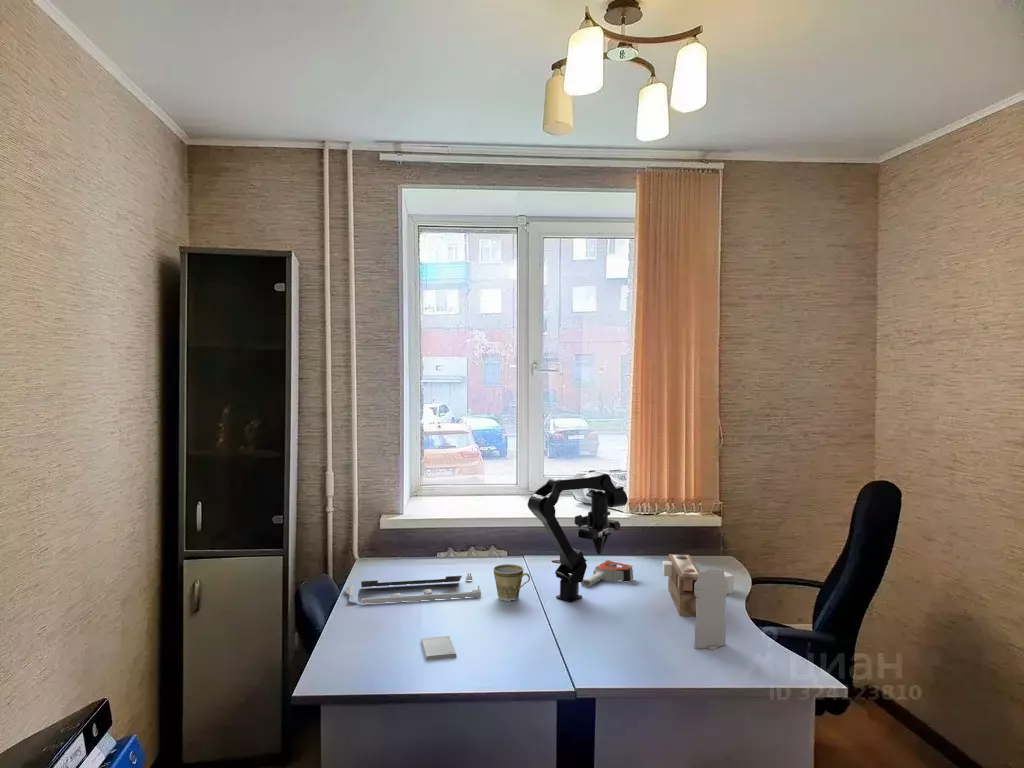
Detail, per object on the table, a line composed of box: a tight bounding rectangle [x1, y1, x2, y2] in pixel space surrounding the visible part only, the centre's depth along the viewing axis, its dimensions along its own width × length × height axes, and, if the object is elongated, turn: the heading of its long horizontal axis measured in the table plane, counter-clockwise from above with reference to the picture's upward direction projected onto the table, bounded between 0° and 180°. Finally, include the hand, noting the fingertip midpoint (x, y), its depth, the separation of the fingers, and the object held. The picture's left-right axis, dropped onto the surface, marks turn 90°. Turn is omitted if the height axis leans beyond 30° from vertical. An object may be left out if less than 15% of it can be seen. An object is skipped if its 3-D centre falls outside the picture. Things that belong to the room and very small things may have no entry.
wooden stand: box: [667, 553, 700, 617], centre depth 226 cm, size 7×24×13 cm, turn 176°
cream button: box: [662, 560, 672, 577], centre depth 233 cm, size 4×4×4 cm
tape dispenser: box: [580, 559, 634, 588], centre depth 249 cm, size 18×5×20 cm
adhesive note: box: [724, 571, 735, 594], centre depth 237 cm, size 6×6×6 cm
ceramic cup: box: [493, 563, 531, 602], centre depth 228 cm, size 13×10×10 cm
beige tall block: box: [693, 568, 728, 650], centre depth 191 cm, size 11×4×22 cm, turn 106°
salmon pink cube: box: [678, 576, 693, 591], centre depth 219 cm, size 4×4×4 cm
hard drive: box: [420, 635, 458, 661], centre depth 189 cm, size 2×8×12 cm
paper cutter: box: [344, 573, 482, 604], centre depth 234 cm, size 18×45×6 cm, turn 101°
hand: (599, 553), depth 236 cm, fingers closed
